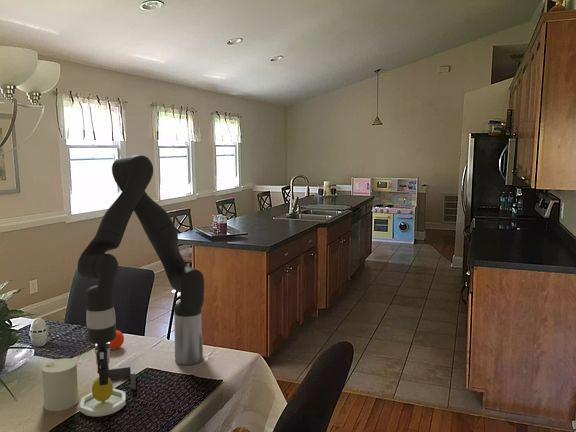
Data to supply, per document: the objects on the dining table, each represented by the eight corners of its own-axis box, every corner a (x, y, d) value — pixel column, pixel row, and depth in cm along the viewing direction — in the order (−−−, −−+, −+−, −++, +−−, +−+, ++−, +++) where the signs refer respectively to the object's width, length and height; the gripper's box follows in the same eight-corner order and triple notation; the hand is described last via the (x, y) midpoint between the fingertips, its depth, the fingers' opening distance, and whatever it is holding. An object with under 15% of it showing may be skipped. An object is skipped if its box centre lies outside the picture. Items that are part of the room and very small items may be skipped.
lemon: (107, 408, 132) (105, 381, 130) (89, 406, 132) (86, 380, 131) (117, 397, 137) (115, 371, 136) (100, 396, 138) (98, 370, 137)
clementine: (100, 347, 174) (99, 328, 173) (118, 342, 179) (118, 324, 178) (108, 354, 168) (108, 335, 168) (127, 348, 173) (126, 330, 172)
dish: (125, 391, 142) (125, 386, 142) (125, 412, 131) (125, 406, 131) (82, 397, 138) (82, 392, 138) (78, 419, 127) (78, 413, 127)
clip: (135, 373, 154) (134, 359, 153) (135, 388, 144) (135, 373, 144) (102, 377, 151) (101, 363, 150) (100, 393, 141) (100, 378, 140)
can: (51, 395, 140) (49, 356, 138) (83, 394, 140) (81, 356, 139) (37, 412, 131) (35, 371, 129) (72, 411, 131) (70, 370, 130)
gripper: (115, 330, 126) (118, 387, 128) (115, 313, 139) (118, 364, 141) (85, 334, 123) (88, 391, 126) (88, 316, 137) (91, 368, 139)
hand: (104, 377), depth 134 cm, fingers open, 8 cm apart
